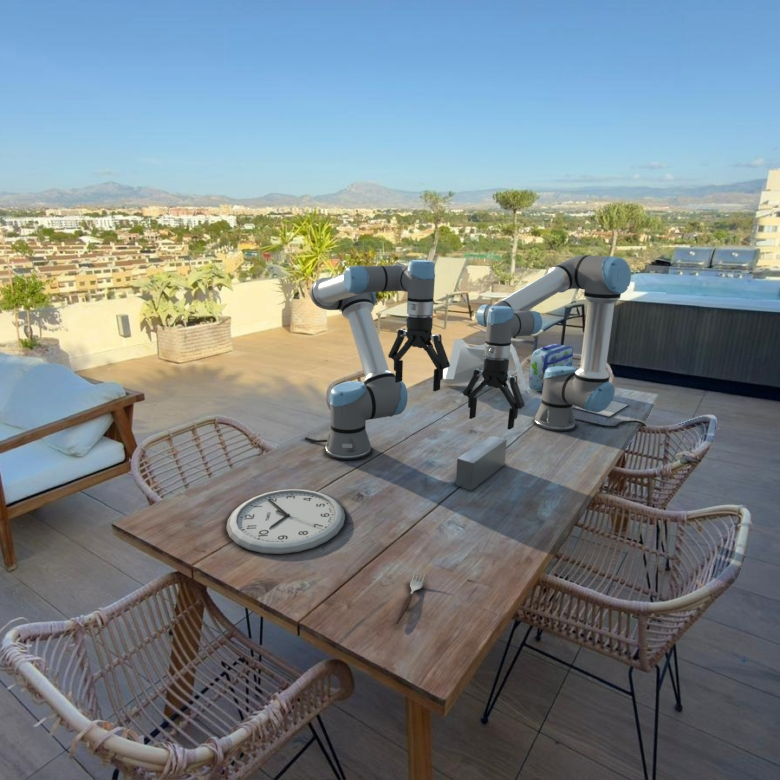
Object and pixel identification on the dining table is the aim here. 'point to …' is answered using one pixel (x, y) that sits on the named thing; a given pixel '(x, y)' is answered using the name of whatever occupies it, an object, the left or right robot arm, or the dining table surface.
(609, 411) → the invitation card
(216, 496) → the dining table surface
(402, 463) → the dining table surface
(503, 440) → the bar
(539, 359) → the lunch box
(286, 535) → the wall clock
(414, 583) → the fork
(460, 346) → the white plastic object
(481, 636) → the dining table surface
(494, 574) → the dining table surface
